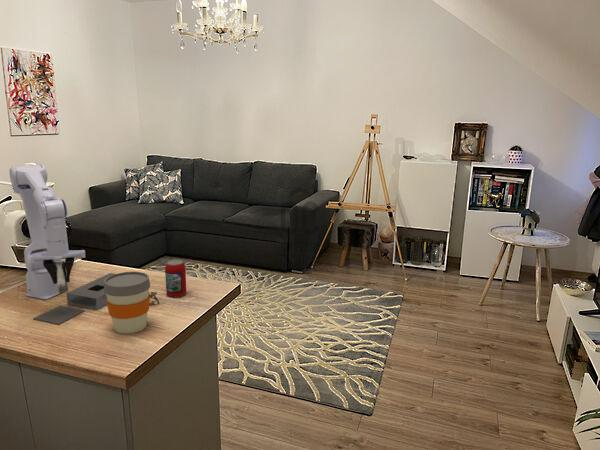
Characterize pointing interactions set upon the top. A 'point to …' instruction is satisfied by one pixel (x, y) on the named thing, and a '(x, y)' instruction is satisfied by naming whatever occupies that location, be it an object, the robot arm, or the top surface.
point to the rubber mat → (59, 315)
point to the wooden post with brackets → (153, 298)
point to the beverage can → (175, 278)
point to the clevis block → (89, 295)
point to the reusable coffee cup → (128, 300)
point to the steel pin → (60, 276)
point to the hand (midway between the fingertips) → (61, 281)
